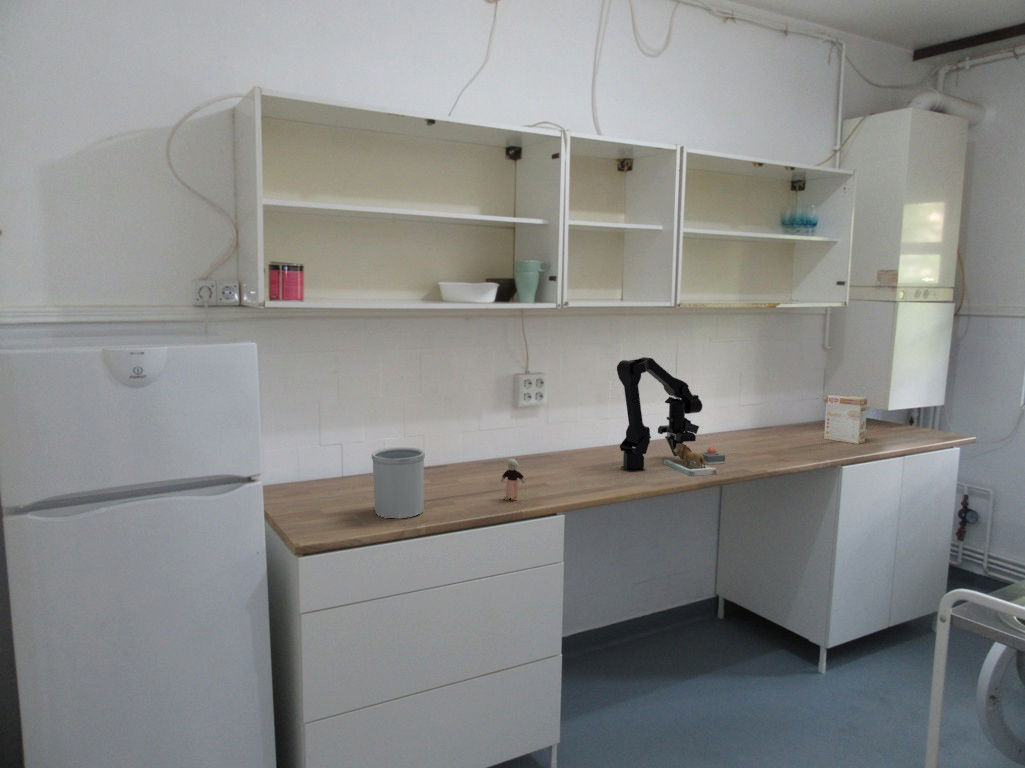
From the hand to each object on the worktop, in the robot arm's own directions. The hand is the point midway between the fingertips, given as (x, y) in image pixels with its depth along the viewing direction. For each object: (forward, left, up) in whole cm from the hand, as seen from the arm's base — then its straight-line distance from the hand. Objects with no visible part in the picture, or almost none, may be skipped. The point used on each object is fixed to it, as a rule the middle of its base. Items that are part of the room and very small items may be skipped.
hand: (675, 456), depth 271 cm
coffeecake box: (+93, +19, -3) cm, 95 cm away
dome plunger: (+14, -2, -1) cm, 14 cm away
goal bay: (0, -10, -3) cm, 11 cm away
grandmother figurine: (-73, -31, -3) cm, 80 cm away
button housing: (+14, -2, -3) cm, 14 cm away
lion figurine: (0, -11, -3) cm, 12 cm away
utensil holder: (-108, -35, -3) cm, 114 cm away
